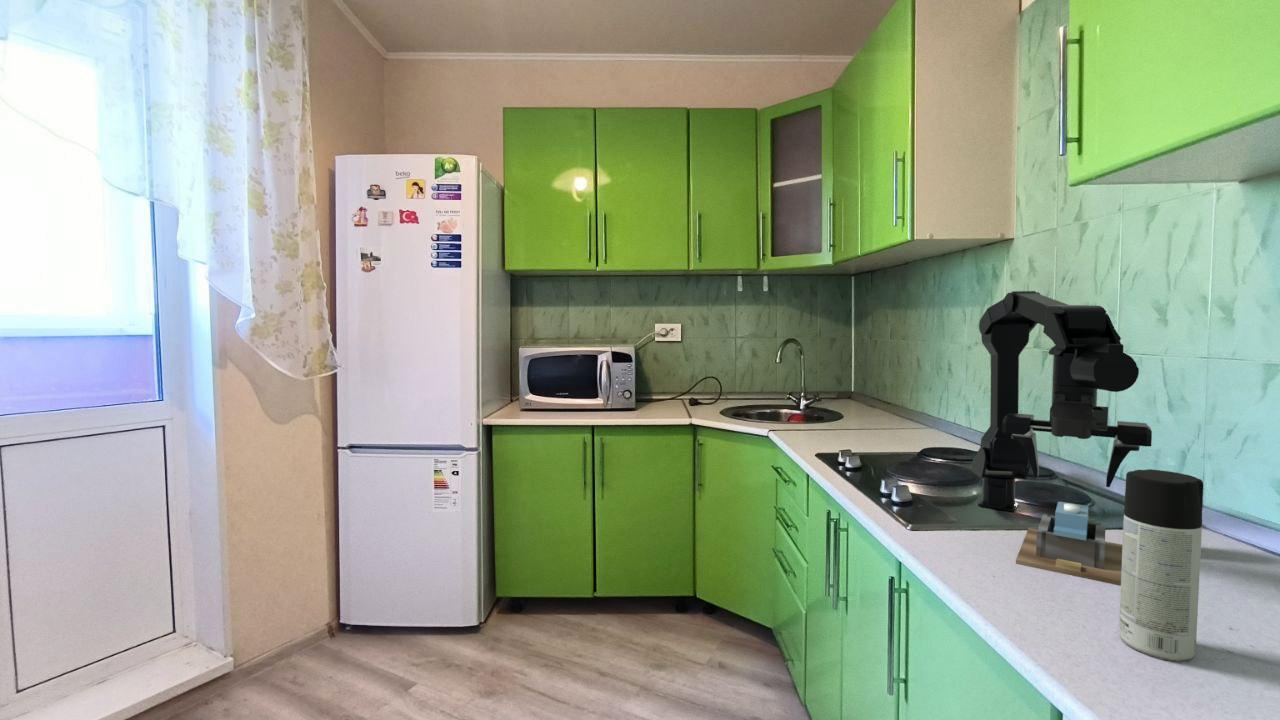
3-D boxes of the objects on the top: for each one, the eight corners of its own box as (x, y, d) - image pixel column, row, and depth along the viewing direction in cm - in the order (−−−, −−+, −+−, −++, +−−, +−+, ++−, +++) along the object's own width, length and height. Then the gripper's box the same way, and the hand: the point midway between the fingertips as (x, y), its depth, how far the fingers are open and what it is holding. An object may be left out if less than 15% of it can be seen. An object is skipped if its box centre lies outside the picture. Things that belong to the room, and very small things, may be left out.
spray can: (1211, 657, 65) (1220, 480, 64) (1168, 668, 63) (1177, 485, 62) (1144, 628, 71) (1151, 466, 70) (1103, 636, 69) (1110, 470, 68)
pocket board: (1028, 531, 105) (1029, 506, 104) (1122, 548, 97) (1123, 521, 96) (1015, 563, 91) (1016, 534, 90) (1124, 586, 83) (1125, 554, 82)
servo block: (1057, 538, 99) (1059, 492, 99) (1087, 544, 97) (1089, 496, 96) (1052, 560, 90) (1054, 509, 90) (1085, 566, 88) (1087, 514, 87)
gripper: (998, 385, 92) (995, 483, 93) (1156, 393, 80) (1151, 505, 81) (1008, 380, 101) (1005, 469, 102) (1151, 386, 89) (1147, 487, 90)
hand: (1071, 481), depth 93 cm, fingers open, 9 cm apart
